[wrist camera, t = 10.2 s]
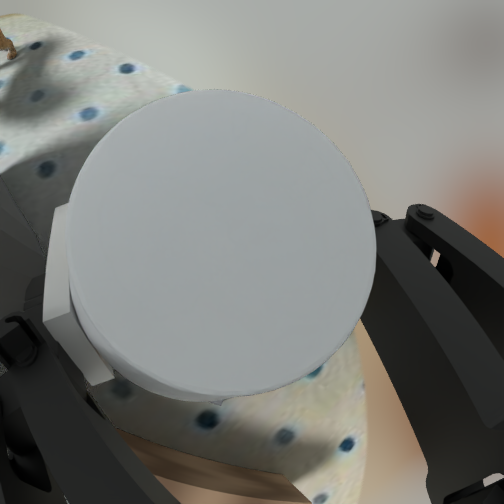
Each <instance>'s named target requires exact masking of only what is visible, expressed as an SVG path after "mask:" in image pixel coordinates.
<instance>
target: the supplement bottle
mask: <svg viewBox="0 0 504 504" xmlns="http://www.w3.org/2000/svg"><path fill="white" fill-rule="evenodd" d="M65 250H66V257H67V262H68V267H69V283H70V290H71V296H72V300H73V304H74V308H75V311H76V314H77V316H78V319H79V322H80V324H81V326H82V328H83V330H84V332H85V334H86V335H87V337H88V339H89V340H90V342H91V344H92V345H93V346H94V348H95V349H96V350H97V351H98V353H99V354H100V355H101V356H102V357H103V358H104V359H105V360H106V362H107V363H108V364H110V365H111V366H112V367H113V368H114V369H115V370H116V371H117V372H119V373H120V374H121V375H122V376H124V377H125V378H126V379H128V380H129V381H131V382H132V383H134V384H136V385H138V386H139V387H141V388H143V389H145V390H147V391H150V392H152V393H155V394H158V395H161V396H164V397H168V398H172V399H177V400H182V401H194V402H207V401H217V400H223V399H229V398H233V397H239V396H250V395H255V394H260V393H265V392H269V391H273V390H276V389H279V388H281V387H284V386H286V385H289V384H291V383H293V382H295V381H297V380H299V379H301V378H303V377H304V376H306V375H308V374H309V373H311V372H313V371H314V370H316V369H317V368H318V367H320V366H321V365H322V364H324V363H325V362H326V361H327V360H328V359H329V358H330V357H331V356H332V355H333V354H334V353H335V352H336V351H337V350H338V349H339V348H340V347H341V346H342V345H343V344H344V342H345V341H346V340H347V338H348V337H349V336H350V334H351V333H352V331H353V330H354V328H355V326H356V324H357V322H358V321H359V319H360V317H361V315H362V313H363V311H364V308H365V306H366V303H367V300H368V297H369V294H370V291H371V288H372V284H373V279H374V274H375V267H376V236H375V227H374V222H373V218H372V213H371V209H370V205H369V201H368V198H367V196H366V193H365V191H364V189H363V187H362V185H361V183H360V180H359V178H358V176H357V175H356V173H355V171H354V170H353V168H352V166H351V165H350V163H349V162H348V160H347V159H346V158H345V156H344V155H343V154H342V152H341V151H340V150H339V149H338V147H337V146H336V145H335V144H334V143H333V142H332V141H331V140H330V139H329V138H328V137H327V136H326V135H325V134H324V133H323V132H321V131H320V130H319V129H318V128H317V127H316V126H314V125H313V124H312V123H310V122H309V121H308V120H306V119H305V118H303V117H302V116H300V115H298V114H297V113H295V112H293V111H292V110H290V109H288V108H286V107H284V106H282V105H280V104H278V103H276V102H274V101H271V100H268V99H266V98H263V97H260V96H256V95H252V94H249V93H244V92H239V91H231V90H219V89H213V90H212V89H209V90H195V91H188V92H183V93H178V94H175V95H171V96H167V97H164V98H161V99H158V100H156V101H153V102H151V103H149V104H147V105H145V106H143V107H141V108H139V109H138V110H136V111H134V112H133V113H131V114H130V115H128V116H127V117H125V118H124V119H122V120H121V121H119V122H118V123H117V124H116V125H115V126H114V127H113V128H112V129H111V130H110V131H109V132H108V133H107V134H106V135H105V136H104V137H103V138H102V139H101V140H100V141H99V142H98V144H97V145H96V146H95V147H94V149H93V150H92V151H91V153H90V154H89V156H88V158H87V159H86V161H85V163H84V165H83V167H82V169H81V170H80V172H79V174H78V176H77V179H76V181H75V184H74V187H73V190H72V193H71V195H70V199H69V204H68V208H67V216H66V228H65Z"/></svg>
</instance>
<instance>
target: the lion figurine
mask: <svg viewBox="0 0 504 504" xmlns="http://www.w3.org/2000/svg"><path fill="white" fill-rule="evenodd" d="M6 49H8V54H7V59H9V60H11V59H13V58H14V57H15V56H16V54H17V53H16V50H15V48H14V46H13V42H12V41H11V40H10V39H6V38H5V36H4V35H3V33H2V31H1V29H0V51H2V50H6Z"/></svg>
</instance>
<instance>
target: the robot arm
mask: <svg viewBox="0 0 504 504" xmlns="http://www.w3.org/2000/svg"><path fill="white" fill-rule="evenodd" d="M68 204H69V203H66V204H64V205H61V206H59V207H56V208H55V212H54V217H53V223H52V229H51V235H50V242H49V249H48V257H47V265H46V273H44V274H42V275H39V276H37V277H34V278H32V280H31V282H30V283H29V285H28V287H27V289H26V293H25V300H24V301H25V303H24V309H23V310H24V312H20V311H18V312H12V313H10V314H8V315H6V316H4V317H3V318H2V319H1V320H0V361H1V362H2V364H3V365H4V366H5V367H6V368H7V369H8V371H7V372H6V373H5V374H3V375H2V376H1V377H0V504H67V502H66V500H65V497H66V499H67V500H68V502H69V503H70V504H181V503H180V502H179V501H178V500H177V499H176V498H175V497H174V496H173V495H172V494H171V493H170V492H169V491H168V490H167V489H166V488H165V487H164V486H163V485H162V484H161V483H160V482H159V480H158V479H157V478H156V477H155V476H154V475H153V474H152V473H151V472H150V471H149V469H148V468H147V467H146V466H145V465H144V464H143V463H142V461H141V460H140V459H139V458H138V457H137V456H136V454H135V453H134V452H133V451H132V450H131V448H130V447H129V446H128V445H127V443H126V442H125V441H124V440H123V438H122V437H121V436H120V434H119V433H118V432H117V430H116V429H115V428H114V426H113V425H112V424H111V422H110V421H109V420H108V418H107V417H106V415H105V414H104V413H103V411H102V410H101V408H100V407H99V405H98V404H97V402H96V401H95V400H94V398H93V397H92V396H91V395H90V393H89V392H88V391H87V390H86V387H85V381H84V377H85V378H86V380H87V381H88V382H89V383H90V384H91V385H92V386H94V385H97V384H100V383H103V382H105V381H108V380H111V379H114V378H115V377H114V373H113V369H112V366H111V365H110V364H108V363H107V362H106V360H105V359H104V358H103V357H102V356H101V355H100V354H99V353H98V351H97V350H96V349H95V348H94V346H93V345H92V344H91V342H90V340H89V339H88V337H87V335H86V334H85V332H84V330H83V328H82V326H81V324H80V322H79V319H78V316H77V314H76V311H75V308H74V304H73V300H72V296H71V290H70V283H69V267H68V262H67V257H66V250H65V228H66V216H67V208H68ZM371 213H372V218H373V222H374V227H375V236H376V267H375V274H374V279H373V284H372V288H371V291H370V294H369V297H368V300H367V303H366V306H365V308H364V311H363V313H362V315H361V317H360V319H361V321H362V323H363V325H364V327H365V329H366V331H367V333H368V335H369V337H370V338H371V341H372V342H373V345H374V346H375V348H376V351H377V353H378V355H379V356H380V359H381V361H382V363H383V365H384V367H385V369H386V371H387V373H388V375H389V377H390V380H391V382H392V384H393V386H394V388H395V390H396V392H397V395H398V397H399V399H400V401H401V403H402V406H403V408H404V410H405V412H406V415H407V417H408V419H409V421H410V424H411V426H412V428H413V430H414V433H415V435H416V437H417V440H418V442H419V445H420V447H421V449H422V452H423V454H424V457H425V459H426V462H427V465H428V474H427V478H426V488H427V492H428V495H429V498H430V500H431V503H432V504H504V478H502V479H500V480H499V481H496V482H494V483H492V484H490V485H488V486H486V487H484V484H483V479H484V478H486V477H488V476H490V475H492V474H495V473H501V474H502V475H504V258H502V257H501V256H500V255H499V254H498V253H496V252H495V251H494V250H492V249H491V248H490V247H488V246H487V245H486V244H484V243H483V242H482V241H480V240H479V239H478V238H476V237H475V236H474V235H472V234H471V233H469V232H468V231H467V230H465V229H464V228H462V227H461V226H459V225H458V224H457V223H455V222H454V221H452V220H451V219H449V218H448V217H446V216H445V215H443V214H442V213H440V212H439V211H437V210H435V209H433V208H431V207H429V206H426V205H424V204H422V205H421V204H415V205H411V206H409V207H408V209H407V214H406V218H405V219H398V220H392V219H391V218H390V217H388V216H387V215H386V214H384V213H381V212H379V211H374V210H371ZM434 249H435V250H436V251H438V252H439V253H440V257H439V260H438V263H437V266H436V267H434V266H433V265H432V264H431V262H430V261H431V258H432V255H433V252H434ZM7 450H8V453H7ZM8 455H9V458H8ZM64 495H65V497H64Z"/></svg>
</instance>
